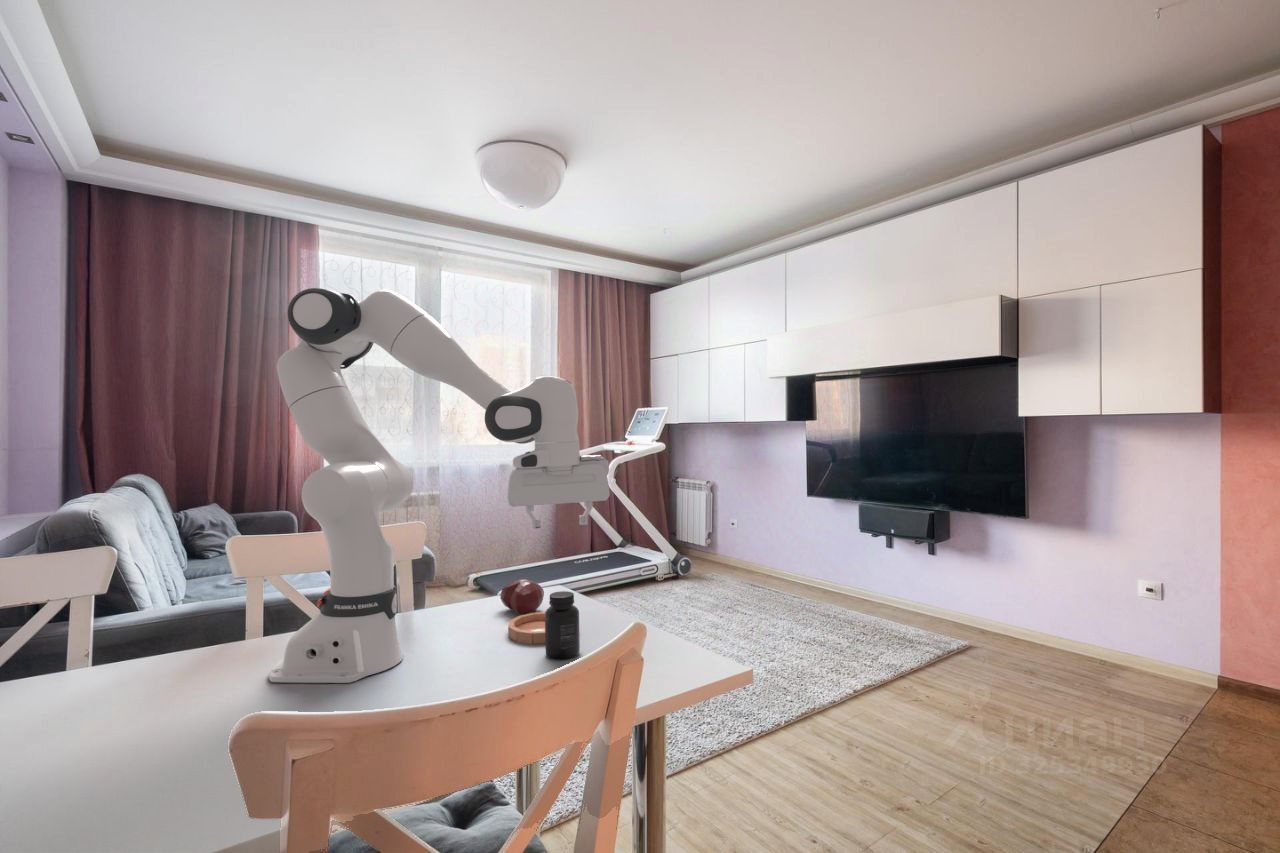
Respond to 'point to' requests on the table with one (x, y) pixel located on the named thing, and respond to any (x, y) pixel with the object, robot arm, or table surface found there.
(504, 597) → the heart
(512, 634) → the tray
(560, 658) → the supplement bottle
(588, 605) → the table surface
